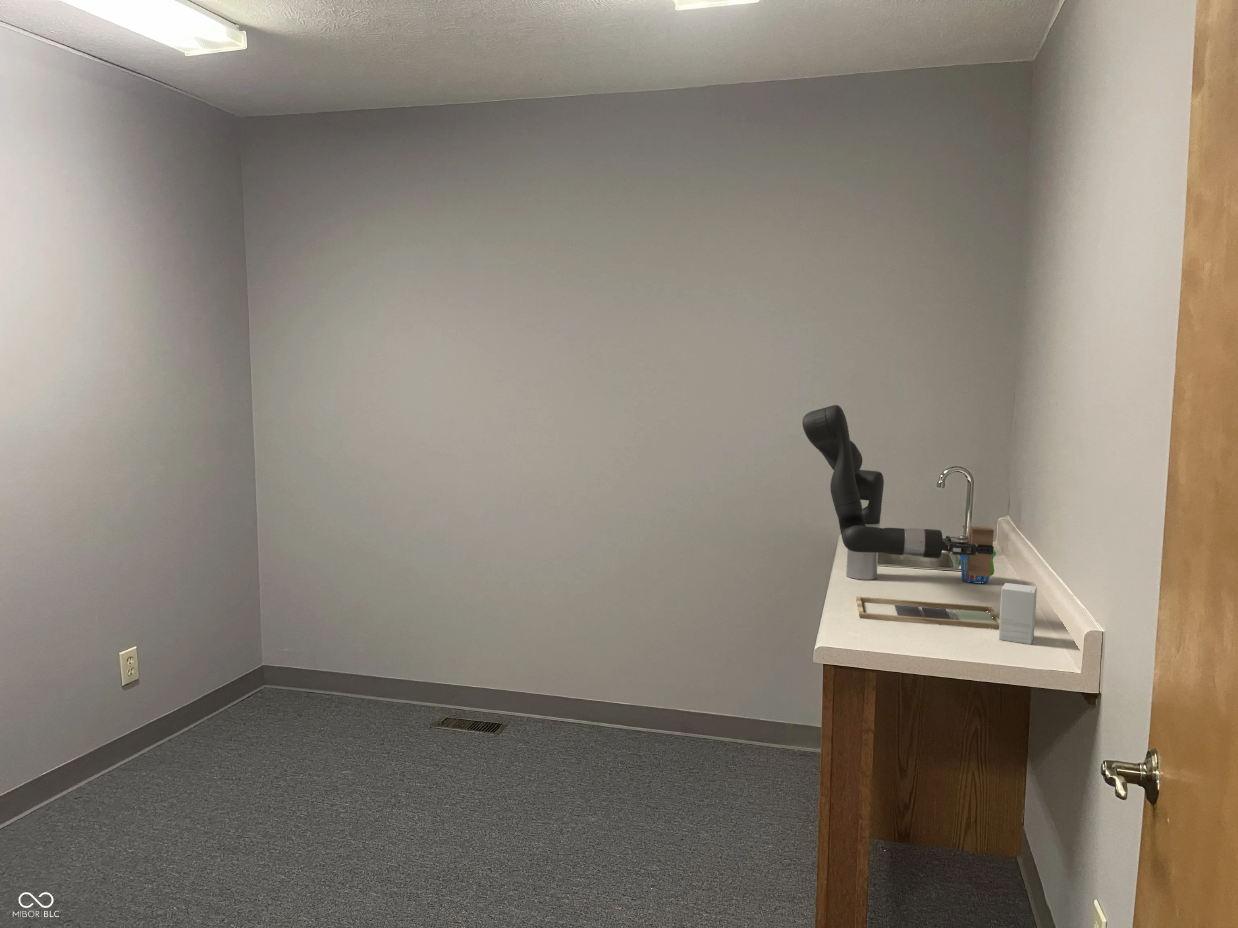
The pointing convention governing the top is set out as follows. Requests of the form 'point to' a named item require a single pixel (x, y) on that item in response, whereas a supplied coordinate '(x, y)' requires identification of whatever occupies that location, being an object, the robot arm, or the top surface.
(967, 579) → the snack cup
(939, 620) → the tray
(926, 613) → the trap squares
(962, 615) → the pad
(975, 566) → the walnut block
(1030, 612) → the supplement box
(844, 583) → the top surface
